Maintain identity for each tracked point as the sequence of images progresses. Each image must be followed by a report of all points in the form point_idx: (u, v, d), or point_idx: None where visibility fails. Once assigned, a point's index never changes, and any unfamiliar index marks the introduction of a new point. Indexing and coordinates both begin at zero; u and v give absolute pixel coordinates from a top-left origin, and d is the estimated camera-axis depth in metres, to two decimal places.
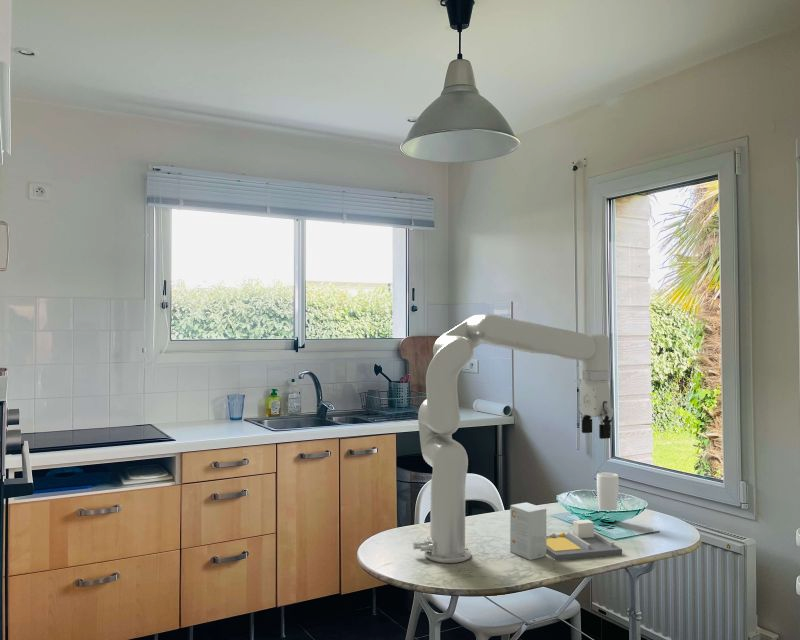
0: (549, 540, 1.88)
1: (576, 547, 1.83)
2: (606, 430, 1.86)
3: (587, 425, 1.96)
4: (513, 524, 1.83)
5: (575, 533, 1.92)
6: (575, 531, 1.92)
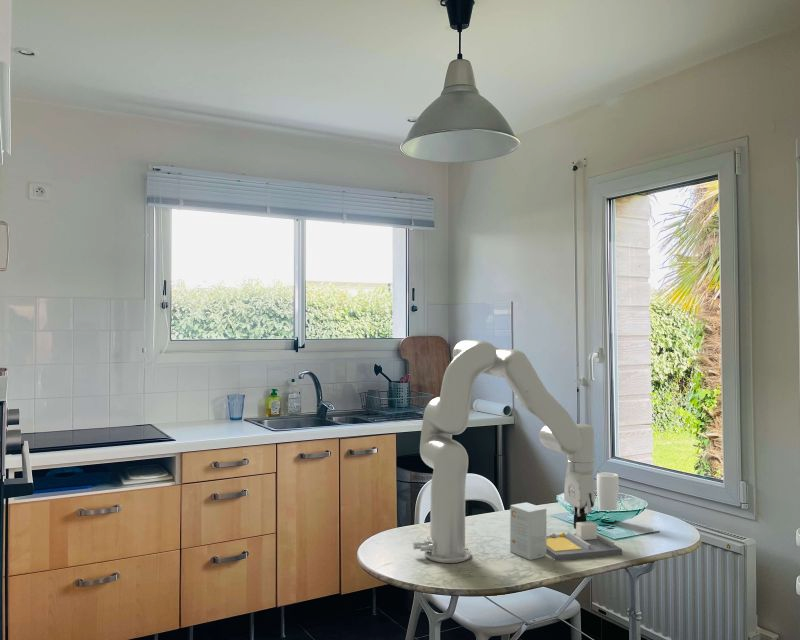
0: (549, 540, 1.88)
1: (576, 547, 1.83)
2: None
3: None
4: (513, 524, 1.83)
5: (578, 535, 1.90)
6: (578, 533, 1.90)
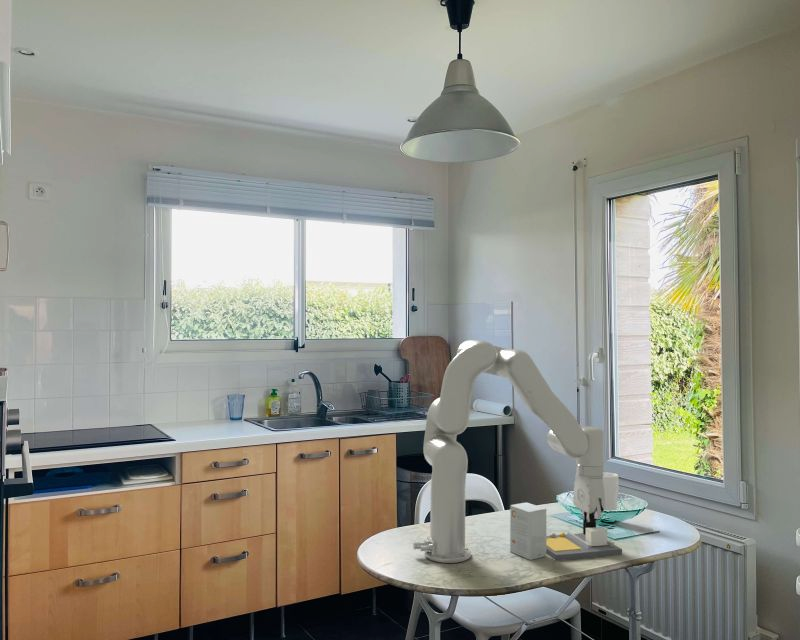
0: (549, 540, 1.88)
1: (576, 547, 1.83)
2: None
3: None
4: (513, 524, 1.83)
5: (588, 541, 1.85)
6: (588, 539, 1.85)
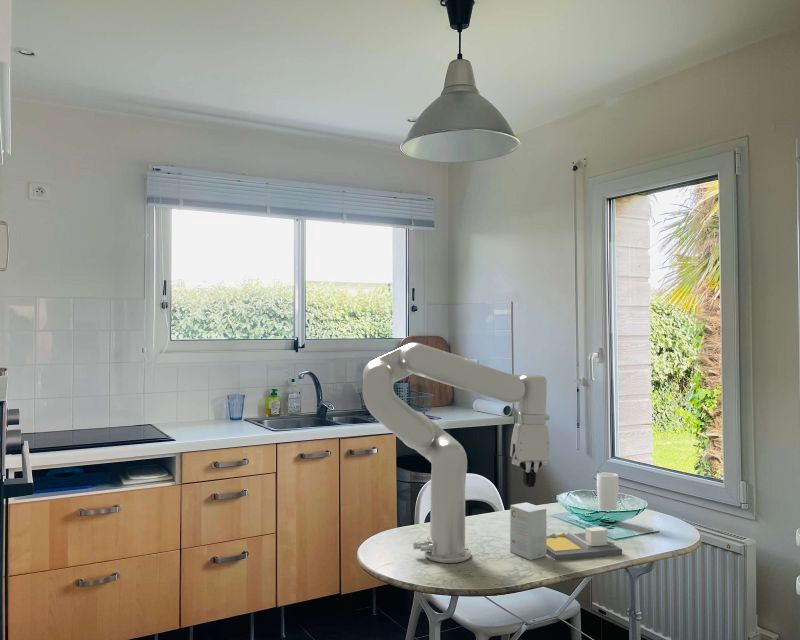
0: (549, 540, 1.88)
1: (576, 547, 1.83)
2: (524, 477, 1.83)
3: None
4: (513, 524, 1.83)
5: (588, 541, 1.85)
6: (588, 539, 1.85)
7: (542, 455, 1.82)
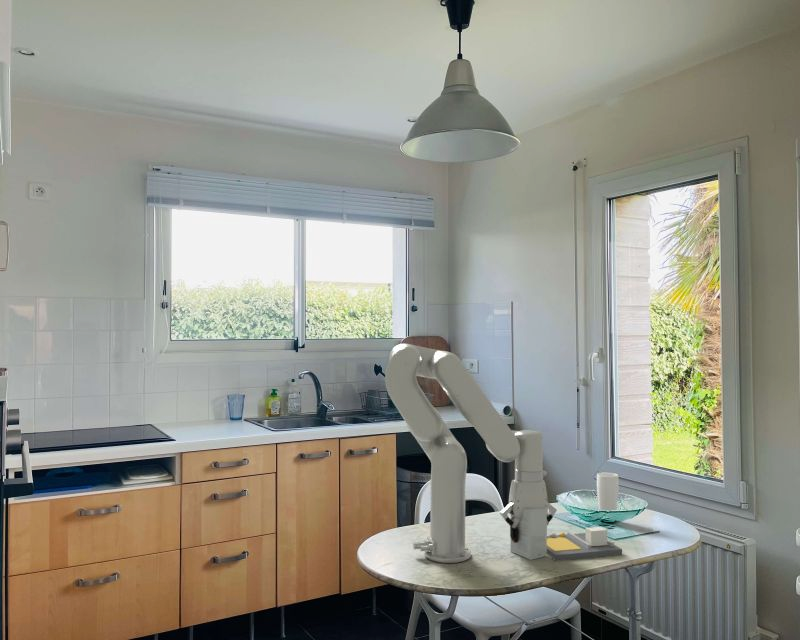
0: (549, 540, 1.88)
1: (576, 547, 1.83)
2: (511, 532, 1.81)
3: None
4: None
5: (588, 541, 1.85)
6: (588, 539, 1.85)
7: None
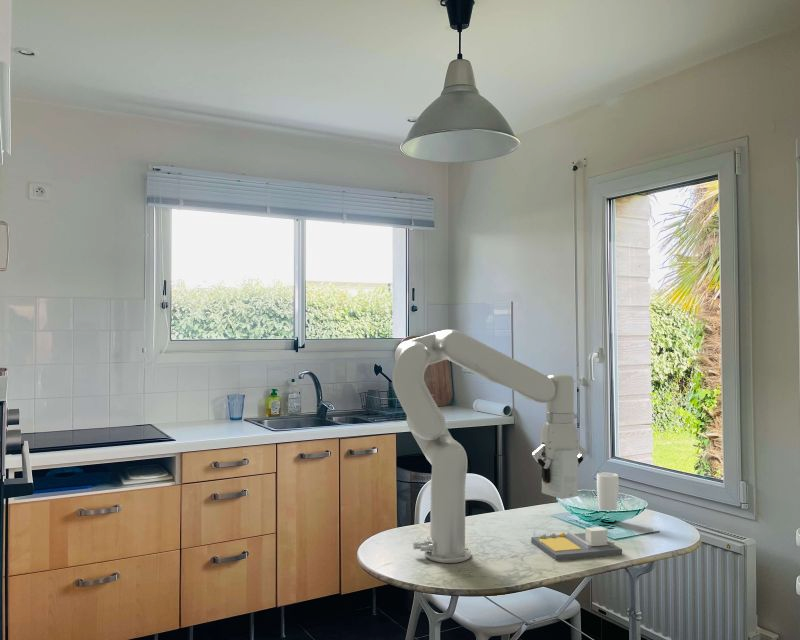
0: (549, 540, 1.88)
1: (576, 547, 1.83)
2: (542, 473, 1.85)
3: None
4: None
5: (588, 541, 1.85)
6: (588, 539, 1.85)
7: None
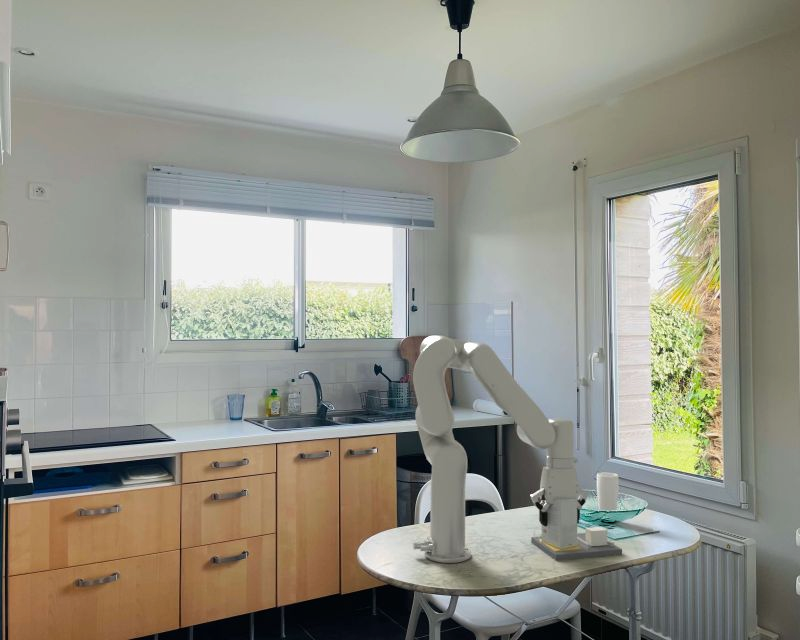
0: None
1: (576, 547, 1.83)
2: (540, 516, 1.84)
3: None
4: None
5: (588, 541, 1.85)
6: (588, 539, 1.85)
7: (571, 498, 1.84)
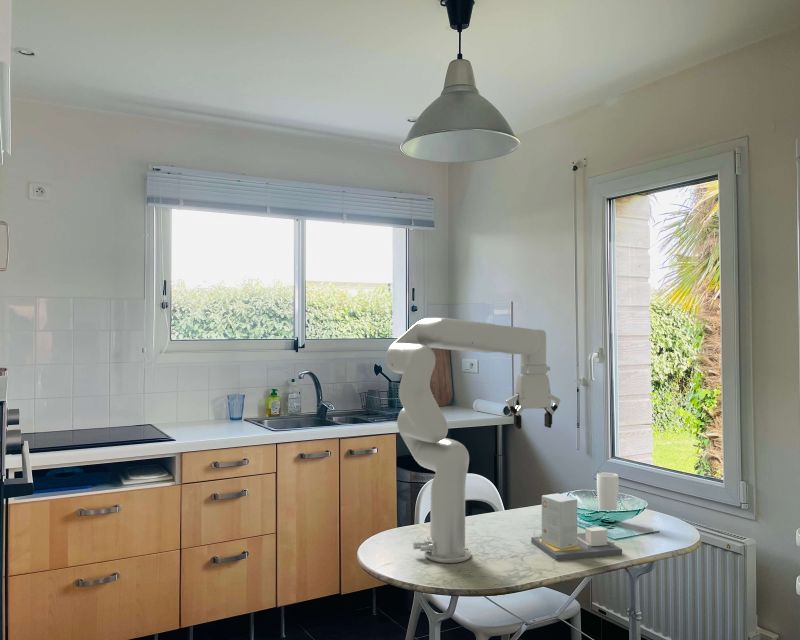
0: None
1: (576, 547, 1.83)
2: (514, 420, 1.97)
3: (546, 419, 1.99)
4: (544, 514, 1.87)
5: (588, 541, 1.85)
6: (588, 539, 1.85)
7: (544, 403, 1.97)
